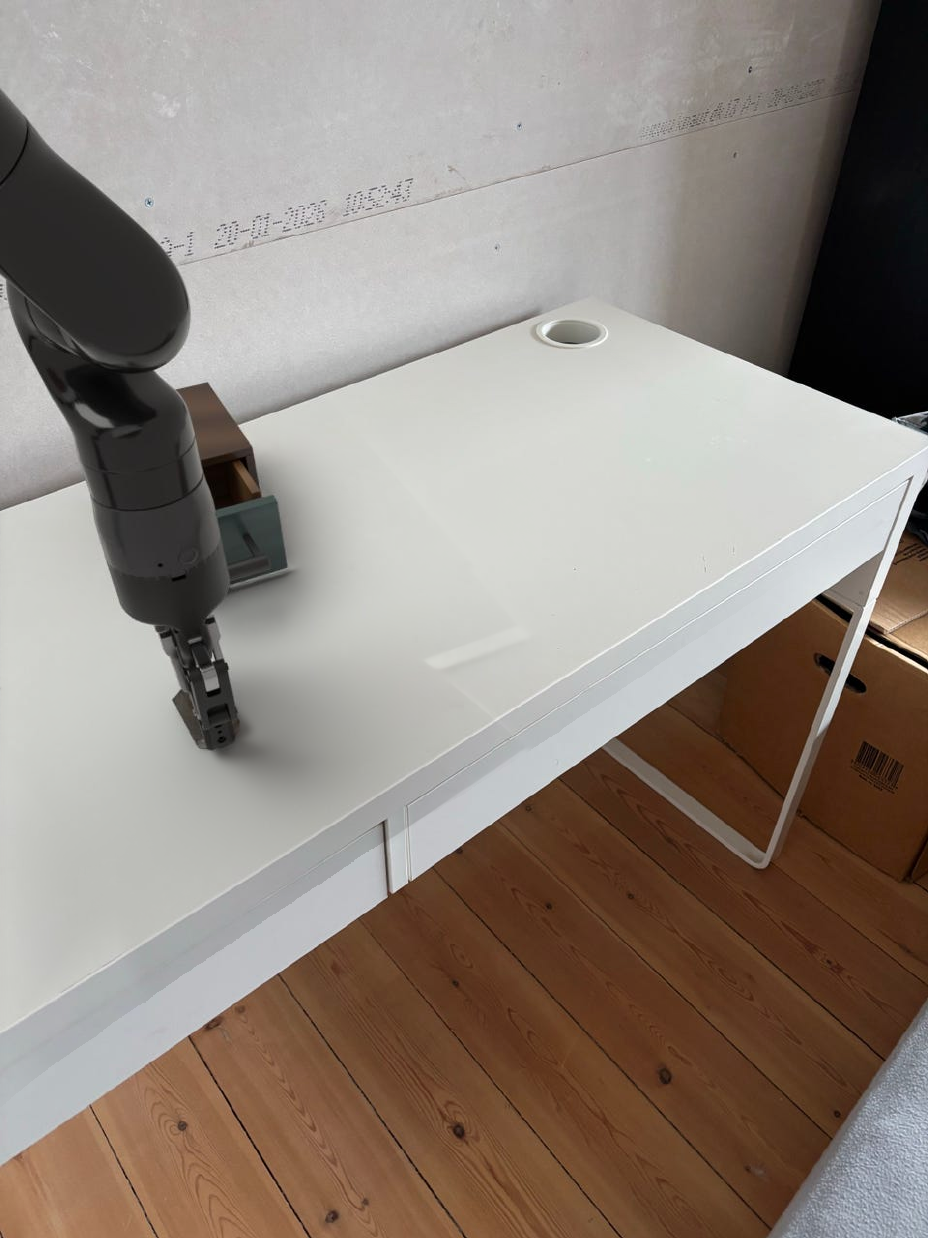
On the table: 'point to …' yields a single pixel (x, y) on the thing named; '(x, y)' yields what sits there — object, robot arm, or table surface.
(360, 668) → the table surface
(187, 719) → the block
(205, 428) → the cabinet
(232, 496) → the drawer
